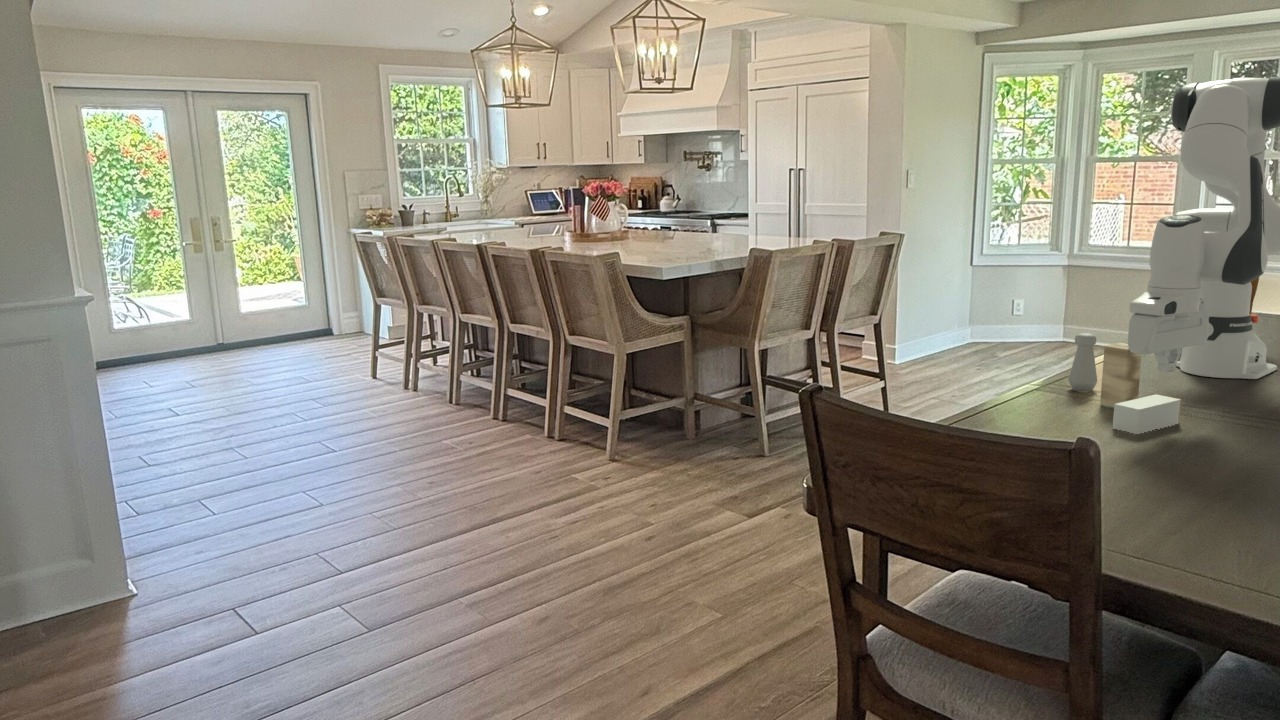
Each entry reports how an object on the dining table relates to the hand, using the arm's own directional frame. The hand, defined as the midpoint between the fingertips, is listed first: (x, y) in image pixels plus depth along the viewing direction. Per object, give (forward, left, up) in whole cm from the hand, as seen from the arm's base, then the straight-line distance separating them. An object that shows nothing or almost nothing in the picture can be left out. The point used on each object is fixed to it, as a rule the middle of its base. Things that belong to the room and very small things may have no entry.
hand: (1166, 371), depth 173 cm
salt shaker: (-10, -25, -11) cm, 29 cm away
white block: (-2, 0, -8) cm, 8 cm away
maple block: (-4, -12, -10) cm, 17 cm away
